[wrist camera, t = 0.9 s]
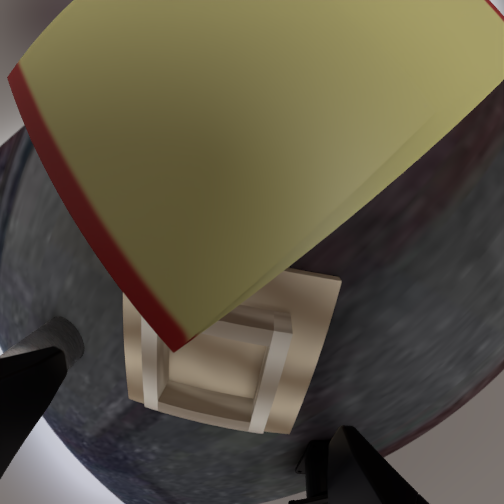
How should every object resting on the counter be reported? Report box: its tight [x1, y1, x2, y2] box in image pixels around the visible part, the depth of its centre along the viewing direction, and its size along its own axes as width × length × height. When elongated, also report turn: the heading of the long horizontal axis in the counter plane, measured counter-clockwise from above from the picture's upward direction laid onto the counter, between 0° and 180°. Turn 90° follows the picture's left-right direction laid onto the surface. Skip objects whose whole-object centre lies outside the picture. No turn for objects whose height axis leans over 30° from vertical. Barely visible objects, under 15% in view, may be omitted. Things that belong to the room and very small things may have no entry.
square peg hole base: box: [123, 268, 342, 434], centre depth 20 cm, size 16×16×4 cm
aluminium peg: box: [0, 317, 84, 370], centre depth 19 cm, size 5×5×10 cm
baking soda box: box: [7, 0, 504, 353], centre depth 10 cm, size 10×6×16 cm
